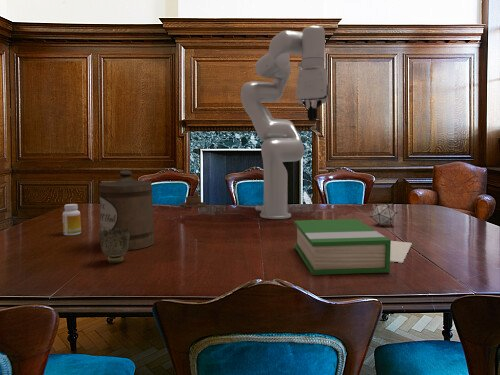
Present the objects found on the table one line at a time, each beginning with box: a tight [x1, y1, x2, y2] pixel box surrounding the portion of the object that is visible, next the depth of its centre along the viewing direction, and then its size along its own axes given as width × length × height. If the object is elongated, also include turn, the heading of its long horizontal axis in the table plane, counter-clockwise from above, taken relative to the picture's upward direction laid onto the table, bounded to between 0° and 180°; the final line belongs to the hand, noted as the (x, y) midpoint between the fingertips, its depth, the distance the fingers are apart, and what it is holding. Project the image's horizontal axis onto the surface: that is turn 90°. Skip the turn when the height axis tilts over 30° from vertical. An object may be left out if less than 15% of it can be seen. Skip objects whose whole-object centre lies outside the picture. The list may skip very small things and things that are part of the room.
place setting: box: [180, 190, 212, 208], centre depth 200 cm, size 18×20×6 cm
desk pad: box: [390, 240, 413, 264], centre depth 114 cm, size 20×22×1 cm
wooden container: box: [98, 168, 155, 251], centre depth 119 cm, size 15×15×22 cm
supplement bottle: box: [62, 203, 82, 236], centre depth 134 cm, size 5×5×10 cm
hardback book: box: [293, 218, 392, 276], centre depth 103 cm, size 18×7×24 cm
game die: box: [369, 202, 399, 227], centre depth 147 cm, size 9×8×10 cm
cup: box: [98, 228, 130, 264], centre depth 102 cm, size 8×7×8 cm
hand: (312, 120), depth 140 cm, fingers closed
